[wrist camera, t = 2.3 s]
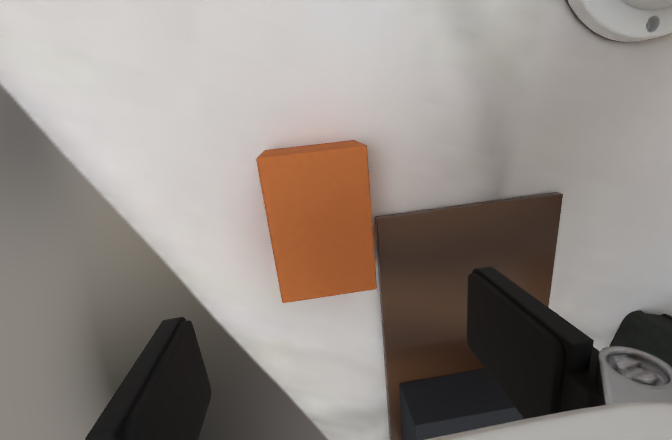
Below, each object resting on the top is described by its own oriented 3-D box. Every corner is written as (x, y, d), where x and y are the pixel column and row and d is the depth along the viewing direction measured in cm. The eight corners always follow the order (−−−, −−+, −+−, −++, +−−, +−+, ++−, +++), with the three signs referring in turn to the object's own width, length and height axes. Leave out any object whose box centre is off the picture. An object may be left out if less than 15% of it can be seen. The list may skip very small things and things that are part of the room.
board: (374, 216, 23) (376, 219, 22) (557, 192, 24) (563, 193, 23) (390, 452, 31) (392, 458, 30) (528, 426, 32) (532, 432, 31)
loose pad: (263, 150, 21) (255, 158, 17) (354, 140, 21) (366, 145, 17) (285, 273, 24) (282, 303, 20) (364, 262, 24) (376, 289, 20)
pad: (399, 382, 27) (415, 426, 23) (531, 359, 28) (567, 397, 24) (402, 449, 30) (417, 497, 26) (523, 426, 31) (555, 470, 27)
